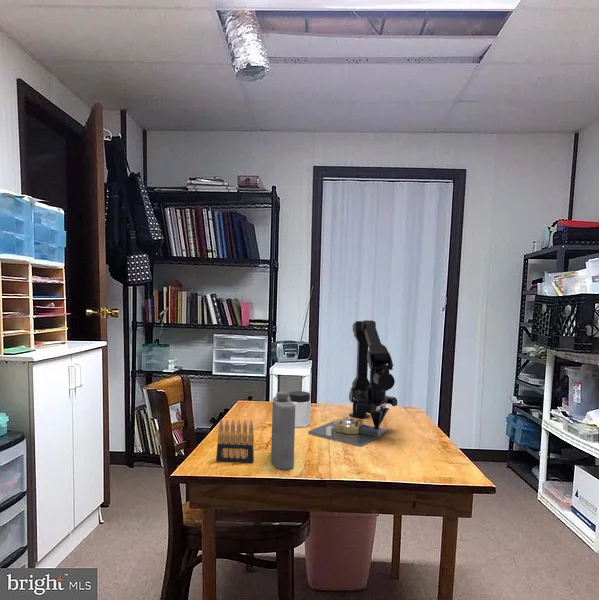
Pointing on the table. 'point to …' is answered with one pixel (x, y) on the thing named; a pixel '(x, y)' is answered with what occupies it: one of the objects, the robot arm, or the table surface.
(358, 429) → the ring nut
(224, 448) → the ammunition clip
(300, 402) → the jar
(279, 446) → the flask
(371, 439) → the cap plate
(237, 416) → the table surface
